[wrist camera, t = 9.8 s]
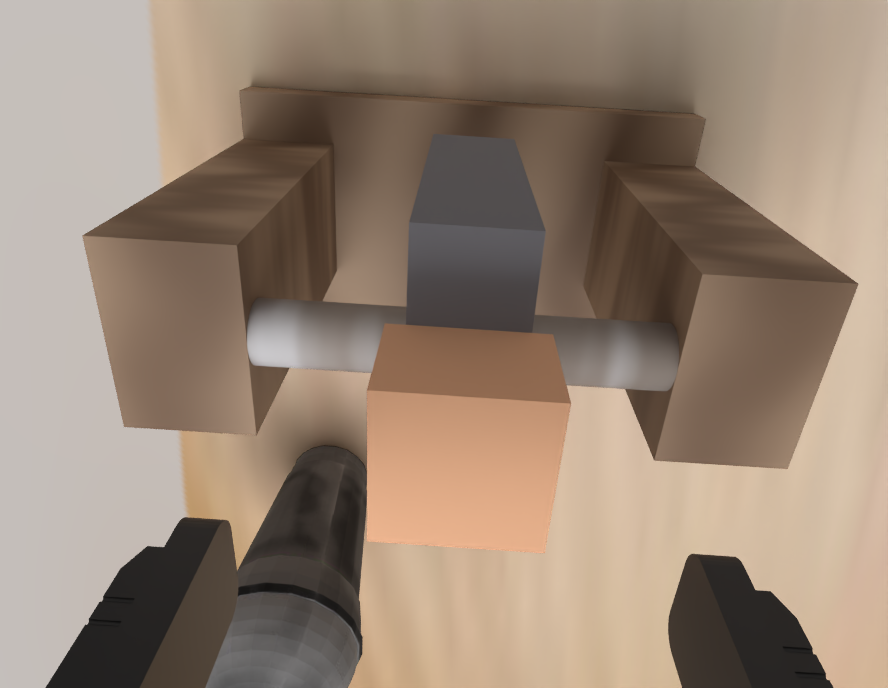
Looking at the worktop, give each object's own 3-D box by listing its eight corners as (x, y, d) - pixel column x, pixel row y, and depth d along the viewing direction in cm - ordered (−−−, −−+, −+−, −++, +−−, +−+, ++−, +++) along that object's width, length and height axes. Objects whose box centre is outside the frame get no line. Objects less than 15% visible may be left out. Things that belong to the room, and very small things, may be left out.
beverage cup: (248, 448, 38) (61, 826, 21) (357, 410, 37) (255, 784, 19) (307, 533, 41) (187, 926, 24) (409, 501, 40) (363, 896, 22)
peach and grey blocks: (527, 139, 24) (592, 285, 11) (503, 353, 28) (531, 628, 16) (419, 132, 24) (366, 270, 11) (412, 346, 28) (367, 617, 16)
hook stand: (694, 113, 29) (887, 207, 16) (649, 315, 34) (768, 519, 20) (249, 86, 29) (65, 156, 16) (266, 291, 34) (135, 478, 20)
